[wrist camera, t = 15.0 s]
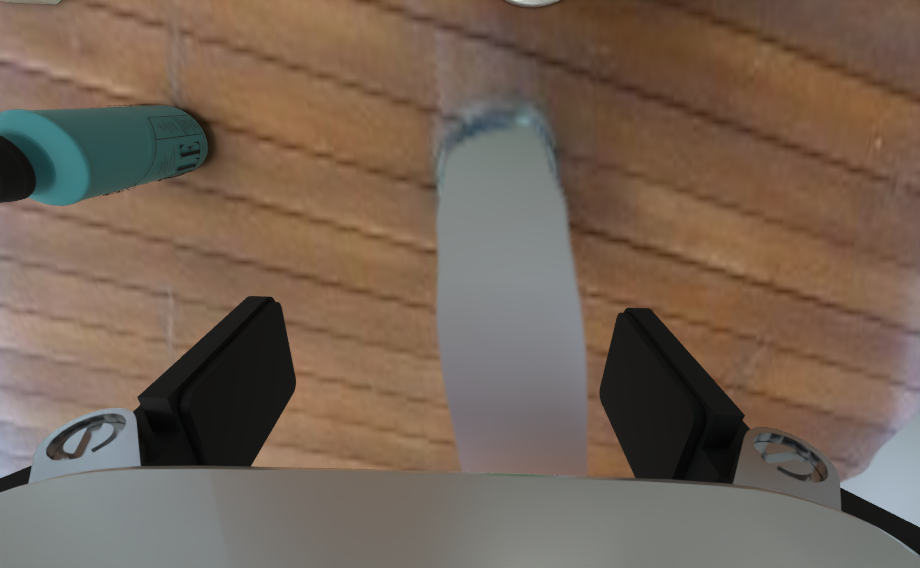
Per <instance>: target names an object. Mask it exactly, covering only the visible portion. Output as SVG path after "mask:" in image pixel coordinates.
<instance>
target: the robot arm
mask: <svg viewBox="0 0 920 568" xmlns="http://www.w3.org/2000/svg"><path fill="white" fill-rule="evenodd" d="M505 1H506V2H508V3H510V4H514V5H517V6H521V7H535V8H536V7H542V6H547V5H551V4H553V3H556V2H558V1H560V0H505ZM295 386H296V378H295V373H294V368H293V362H292V357H291V352H290V347H289V342H288V337H287V332H286V327H285V322H284V317H283V312H282V307H281V305H280V303H279V302H275V300H274V299H273V298H272V297H260V296H249V297H247V298H246V299H245V300H244V301H243V302H241V303H240V304H239V305H238V306H237V307H236V308H235V309H234V310H233V311H232V312H230V313H229V314H228V315H227V316H226V317H225V318H224V319H223V320H222V321H221V322H219V323H218V324H217V325H216V326H215V327H214V328H213V329H212V330H211V331H210V332H209V333H207V334H206V335H205V336H204V337H203V338H202V339H201V340H200V341H199V342H198V343H196V344H195V345H194V346H193V347H192V348H191V349H190V350H189V351H188V352H187V353H185V354H184V355H183V356H182V357H181V358H180V359H179V360H178V361H177V362H176V363H174V364H173V365H172V366H171V367H170V368H169V369H168V370H167V371H166V372H165V373H163V374H162V375H161V376H160V377H159V378H158V379H157V380H156V381H155V382H154V383H152V384H151V385H150V386H149V387H148V388H147V389H146V390H145V391H144V392H143V393H142V394H140V395H139V396H138V397H137V398H138V400H139V402H140V404H141V405H140V406H139V407H138V408H137V409H136V410H135V411H134V412H132V411H130V410H128V409H123V408H110V409H103V410H99V411H95V412H92V413H88V414H86V415H83V416H81V417H79V418H76V419H74V420H72V421H70V422H68V423H66V424H65V425H63V426H61V427H59V428H58V429H57V430H55V431H54V432H53V433H51V434H50V435H48V436H47V437H46V438H45V439H44V440H43V441H42V443H41V444H40V445H39V446H38V448H37V450H36V452H35V454H34V457H33V462H32V466H29V467H27V468H25V469H22V470H20V471H17V472H15V473H12V474H10V475H8V476H5V477H3V478H0V568H920V527H918V526H916V525H914V524H912V523H910V522H908V521H906V520H904V519H902V518H900V517H898V516H896V515H894V514H892V513H890V512H888V511H886V510H884V509H882V508H880V507H878V506H876V505H874V504H872V503H870V502H868V501H866V500H864V499H862V498H860V497H858V496H856V495H854V494H852V493H850V492H848V491H846V490H844V489H842V488H840V478H839V475H838V472H837V469H836V468H835V466H834V465H833V464H832V462H831V461H830V460H829V459H828V458H827V457H826V456H825V455H824V454H823V453H822V452H821V451H819V450H818V449H817V448H815V447H814V446H812V445H811V444H809V443H808V442H806V441H805V440H803V439H801V438H799V437H796V436H794V435H792V434H790V433H787V432H784V431H781V430H778V429H774V428H768V427H755V428H753V429H749V427H748V426H747V425H746V424H745V423H744V422H743V421H742V420H743V418H744V416H745V415H744V414H743V413H742V412H741V410H740V409H739V408H738V407H737V406H736V405H735V404H734V403H733V401H732V400H731V399H730V398H729V397H728V396H727V395H726V394H725V392H724V391H723V390H722V389H721V388H720V387H719V386H718V385H717V383H716V382H715V381H714V380H713V379H712V378H711V377H710V376H709V374H708V373H707V372H706V371H705V370H704V369H703V368H702V367H701V365H700V364H699V363H698V362H697V361H696V360H695V359H694V358H693V356H692V355H691V354H690V353H689V352H688V351H687V350H686V349H685V347H684V346H683V345H682V344H681V343H680V342H679V341H678V340H677V338H676V337H675V336H674V335H673V334H672V333H671V332H670V331H669V329H668V328H667V327H666V326H665V325H664V324H663V323H662V322H661V320H660V319H659V318H658V317H657V316H656V315H655V314H654V313H653V311H652V310H650V309H649V308H627V309H625V311H624V313H619V314H618V316H617V319H616V323H615V328H614V332H613V336H612V340H611V344H610V348H609V353H608V357H607V361H606V365H605V369H604V373H603V378H602V382H601V386H600V400H601V403H602V405H603V407H604V409H605V412H606V414H607V416H608V418H609V420H610V423H611V425H612V427H613V429H614V431H615V434H616V436H617V438H618V440H619V443H620V445H621V447H622V449H623V451H624V454H625V456H626V458H627V460H628V462H629V465H630V467H631V469H632V471H633V473H634V476H635V478H624V477H598V476H567V475H539V474H511V473H479V472H447V471H412V470H376V469H336V468H293V467H251V465H252V463H253V462H254V460H255V458H256V456H257V455H258V453H259V451H260V450H261V448H262V446H263V444H264V443H265V441H266V439H267V438H268V436H269V434H270V432H271V431H272V429H273V427H274V426H275V424H276V422H277V420H278V419H279V417H280V415H281V414H282V412H283V410H284V408H285V407H286V405H287V403H288V402H289V400H290V398H291V396H292V395H293V393H294V390H295Z"/></svg>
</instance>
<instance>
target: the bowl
mask: <svg viewBox="0 0 920 568" xmlns="http://www.w3.org/2000/svg"><path fill="white" fill-rule="evenodd" d="M0 1H5V2H12V3H35V4H58V3H59V2H60V1H61V0H0Z"/></svg>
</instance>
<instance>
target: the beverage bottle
mask: <svg viewBox="0 0 920 568" xmlns="http://www.w3.org/2000/svg"><path fill="white" fill-rule="evenodd" d="M159 104H160V103H158V104H154V105H156V106H146V105H147V104H146V105H145V104H144V105H145V106H144V105H143V104H142V105H143V106H129V107H108V106H107V107H106V108H94V107H93V108H92V109H91V108H90V109H57V110H23V109H14V110H7V111H4V112H1V113H0V203H1V202H12V201H18V200H22V199H25V198H27V197H29V198H31V199H33V200H36V201H38V202H41V203H45V204H49V205H57V206H64V205H70V204H74V203H77V202H79V201H81V200H85V199H88V198H92V197H95V196H99V195H103V194H105V195H109V194H110V193H111V192H116V191H118V192H120V191H119V190H123V189H126V188H130V187H133V186H137V185H141V184H144V183H148V182H152V181H155V180H159V179H160V180H161V179H166V177H167V178H168V179H169V178H173V177H175V176H173V175H176V177H177V176H178V175H177V174H179V176H180V175H181V173H182V175H183V174H184V173H187V172H190V171H192V170H194V169H197V168H198V167H199V166H200V165H202V163H203V162H204V160H205V158H206V156H207V151H208V145H207V139H206V136H205V134H204V132H203V130H202V128H201V127H200V125H199V124H198V123H197V121H196V120H195V119H194V118H193V117H191V116H190V115H189V114H187V113H186V112H184V111H182V110H180V109H177V108H175V107H171V106H166V105H159ZM138 105H139V104H138ZM140 105H141V104H140ZM148 105H149V104H148ZM150 105H151V104H150ZM104 106H105V105H104ZM110 106H111V105H110ZM121 106H122V105H121ZM124 106H128V104H127V105H124ZM170 176H173V177H170ZM160 180H159V181H160ZM128 190H130V189H128ZM123 191H124V190H123ZM121 192H122V191H121ZM107 193H108V194H107ZM116 193H117V192H116ZM112 194H113V193H112ZM103 196H104V195H103Z"/></svg>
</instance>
